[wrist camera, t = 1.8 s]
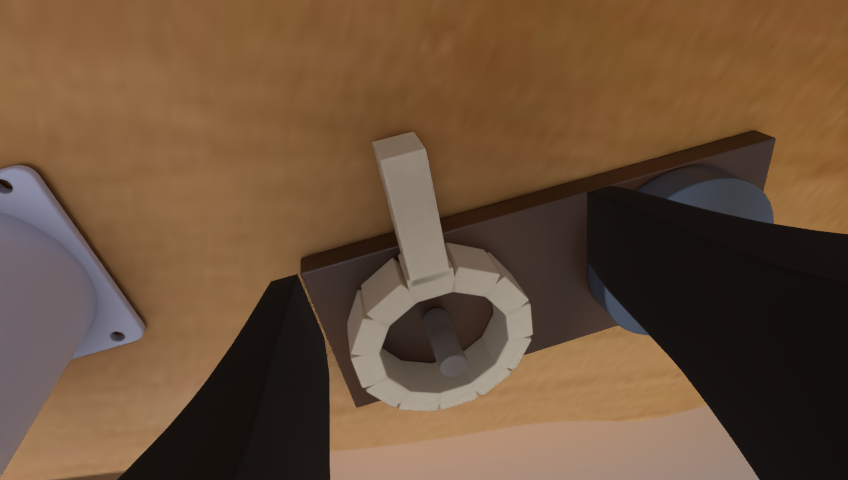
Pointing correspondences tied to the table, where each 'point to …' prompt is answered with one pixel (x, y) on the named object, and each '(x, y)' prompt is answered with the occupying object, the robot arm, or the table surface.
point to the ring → (430, 295)
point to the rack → (534, 257)
